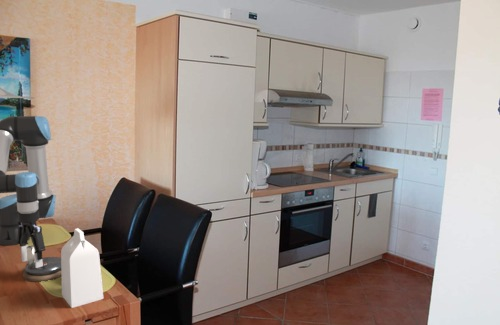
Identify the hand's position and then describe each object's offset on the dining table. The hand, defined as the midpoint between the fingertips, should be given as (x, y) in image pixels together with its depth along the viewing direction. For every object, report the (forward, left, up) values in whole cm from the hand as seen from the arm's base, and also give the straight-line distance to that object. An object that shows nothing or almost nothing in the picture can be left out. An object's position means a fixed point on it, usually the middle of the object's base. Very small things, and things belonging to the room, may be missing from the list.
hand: (32, 263), depth 175 cm
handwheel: (-6, 0, -4) cm, 7 cm away
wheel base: (-6, 0, -6) cm, 8 cm away
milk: (-4, +30, -6) cm, 32 cm away
